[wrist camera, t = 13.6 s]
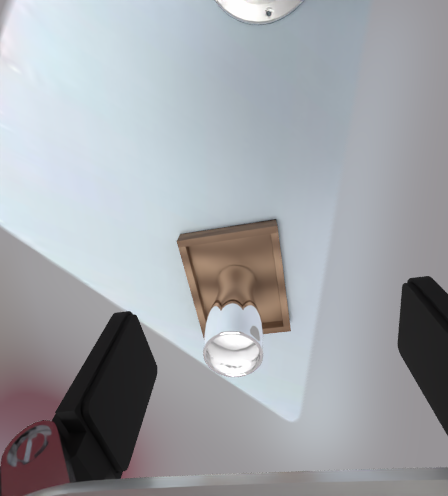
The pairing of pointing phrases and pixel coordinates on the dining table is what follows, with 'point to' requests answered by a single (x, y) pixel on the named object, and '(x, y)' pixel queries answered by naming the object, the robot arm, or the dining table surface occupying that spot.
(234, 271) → the beer glass
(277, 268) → the walnut tray
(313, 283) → the dining table surface
